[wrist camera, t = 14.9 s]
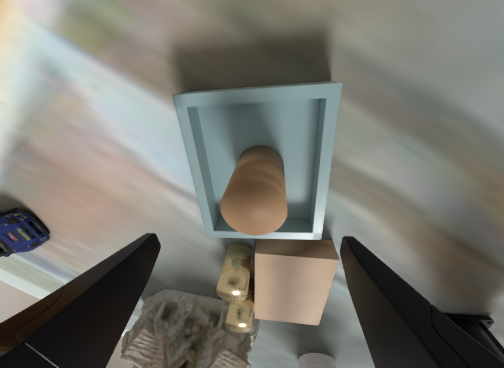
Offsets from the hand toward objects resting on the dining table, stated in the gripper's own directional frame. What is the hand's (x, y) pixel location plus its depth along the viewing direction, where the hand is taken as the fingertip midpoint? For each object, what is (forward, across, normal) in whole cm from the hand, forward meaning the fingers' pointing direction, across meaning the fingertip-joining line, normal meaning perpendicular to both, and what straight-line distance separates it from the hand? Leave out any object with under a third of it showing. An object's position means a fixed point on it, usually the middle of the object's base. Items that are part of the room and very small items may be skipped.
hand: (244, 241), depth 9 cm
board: (+10, -3, +15) cm, 18 cm away
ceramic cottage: (+10, +10, +26) cm, 29 cm away
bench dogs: (+9, +3, +14) cm, 17 cm away
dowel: (+9, 0, 0) cm, 9 cm away
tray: (+9, 0, 0) cm, 9 cm away
